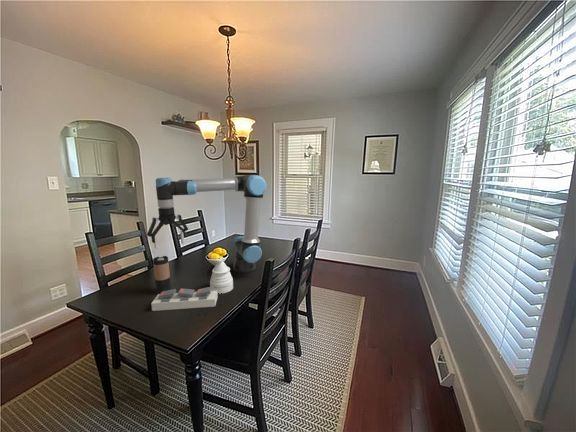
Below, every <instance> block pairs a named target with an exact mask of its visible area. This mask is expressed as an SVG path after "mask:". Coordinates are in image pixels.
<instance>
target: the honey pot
mask: <svg viewBox="0 0 576 432" xmlns="http://www.w3.org/2000/svg"><path fill="white" fill-rule="evenodd" d="M230 271H231V268H230V267H229V266H227V264H226V263H225V262H224V261H223V259H217V262H216V264H215V266H214V268H212V271H211V272H212V273H211V277H210V280H209V287H212V291H217V295H219V294H220V295H221V293H222V294H226V293H229V292H231V291H232V290H233V289H234V279H233V276H232V274H231V272H230ZM218 293H219V294H218Z"/></svg>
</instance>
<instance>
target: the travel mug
mask: <svg viewBox="0 0 576 432" xmlns="http://www.w3.org/2000/svg"><path fill="white" fill-rule="evenodd" d="M152 263H153V264H152V265H153V275H154V282H155V289H156V290H155V291H156V293H157V295H158V294H161V292H163V291H167V290H172V287H171V283H172V282H171V273H170V272H171V271H170V265H169V264H170V263H169V257H168V256H167V255H163V256H156V257H154V258H152Z"/></svg>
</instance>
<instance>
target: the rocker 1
mask: <svg viewBox="0 0 576 432" xmlns="http://www.w3.org/2000/svg"><path fill="white" fill-rule="evenodd" d="M175 293H177V290H176V288H173V289H172V288H171V290H167V291H163V292H161V294H160V295H159V296H158V297H159V299H163V298H168V297H172V296H174V295H175Z"/></svg>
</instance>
